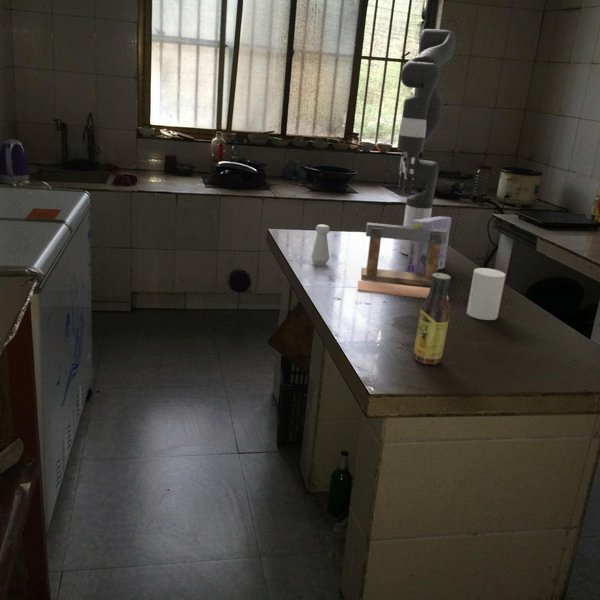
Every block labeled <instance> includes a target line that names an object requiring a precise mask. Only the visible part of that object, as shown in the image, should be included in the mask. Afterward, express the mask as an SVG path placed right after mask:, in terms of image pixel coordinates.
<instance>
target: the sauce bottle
mask: <svg viewBox="0 0 600 600" xmlns="http://www.w3.org/2000/svg"><path fill="white" fill-rule="evenodd" d="M451 280H452V277H451V275H449V274H446V273H443V272H437V273H434V274H432V277H431V286H429V288H430V291H429V294H428V296H427V298H425V299H424V301H423V304H422V305H421V307H420V311H419V312H420V313H419V317H418V322H417V323H418V324H417V330H416V337H415V340H414V341H415V343H414V346H413V352H414V353H413V358H414V360H416V361H417V362H419V363H420V364H422V365H423V364H424V365H430V366H431V365H432V366H433V365H438V364H439V363H440V362H441V358H442V356H443V352H444V347H445V343H446V336H447V331H448V325H449V320H450V319H449V318H450V317H449V316H450V312H451V305H450V302H449V300H447V296H448V294H449V293H448V291H449V286H450V284H451V282H452V281H451Z"/></svg>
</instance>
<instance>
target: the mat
mask: <svg viewBox="0 0 600 600" xmlns="http://www.w3.org/2000/svg"><path fill="white" fill-rule="evenodd" d="M357 291H358V292H361V291H364V292H365V293H371V292H373V293H374V294H380V295H381V294H384V295H392V296H403V297H412V298H420V297H421V299H426V298H427V296H428V294H429V291H430V287H427V286H426V287H424V286H417V285H407V284H405V285H404V284H398V283H396V284H395V283H388V282H378V281H368V280H366V281H365V280H357ZM364 292H363V293H364ZM373 293H372V294H373ZM447 300H448V301H449V300H450V298H449V296H448V295H447Z"/></svg>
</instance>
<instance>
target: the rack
mask: <svg viewBox="0 0 600 600" xmlns="http://www.w3.org/2000/svg"><path fill="white" fill-rule="evenodd" d="M381 234H382V228H374V227H372V233H371V237H369V244H368V246H369V247H368V253H367V254H368V255H367V260H366V262H367V263H366V267H361V271H360V273H361V274H360V278H361V280H363V281H365V280H366V281H373V282H383V283H393V284H395V283H396V284H403V285H404V284H405V285H413V284H414V285H413V286H423V285H425V286H426V287H431V277H432V274H434V273H438V270H437V267H438V261H439V254H440V248H441V241H442V234H436V233H432V237H431V242H428V248H427V255H426V262H425V268H424V274H421V273H411V272H406V271H400V270H390V269H381V268H378V267H379V266H378V265H379V258H380V252H381V251H380V250H381V241H382V238H381Z"/></svg>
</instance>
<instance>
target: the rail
mask: <svg viewBox="0 0 600 600" xmlns="http://www.w3.org/2000/svg"><path fill="white" fill-rule="evenodd" d="M372 227H374V228H382V234H381V239H390V240H391V239H392V240H400V241H401V240H410V241H420V242H431V237H432V233H436V234H442V241H441V244H445V243H446V237H447V231H446V230H440V229H430V228H420V227H409V226H403V225H397V224H388V223H377V222H375V223H374V222H366V231H365V237H369V238H370V237H371V233H372Z"/></svg>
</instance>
